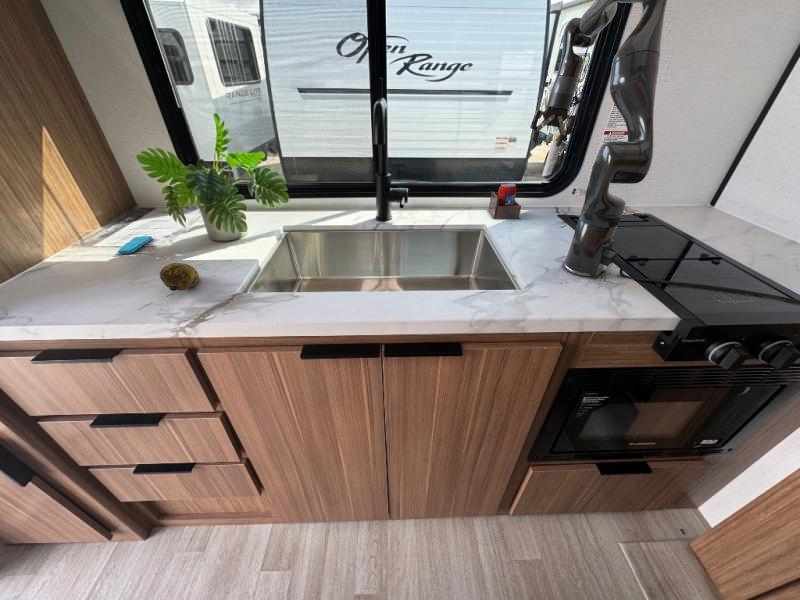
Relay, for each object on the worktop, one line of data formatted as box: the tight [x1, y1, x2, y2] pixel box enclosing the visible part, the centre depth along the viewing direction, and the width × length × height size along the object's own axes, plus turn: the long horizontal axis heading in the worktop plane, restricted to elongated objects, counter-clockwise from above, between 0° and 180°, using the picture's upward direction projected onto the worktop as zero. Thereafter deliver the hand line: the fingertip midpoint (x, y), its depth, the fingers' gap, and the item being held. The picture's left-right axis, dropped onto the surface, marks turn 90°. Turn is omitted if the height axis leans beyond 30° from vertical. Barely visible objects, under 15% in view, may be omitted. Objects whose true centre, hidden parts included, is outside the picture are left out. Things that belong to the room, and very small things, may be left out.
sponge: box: [117, 235, 153, 255], centre depth 105 cm, size 2×12×6 cm
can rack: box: [488, 191, 522, 220], centre depth 129 cm, size 10×10×8 cm
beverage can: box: [497, 182, 518, 206], centre depth 128 cm, size 7×7×12 cm
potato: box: [159, 262, 200, 292], centre depth 82 cm, size 8×13×8 cm, turn 6°
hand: (545, 144), depth 119 cm, fingers open, 8 cm apart
